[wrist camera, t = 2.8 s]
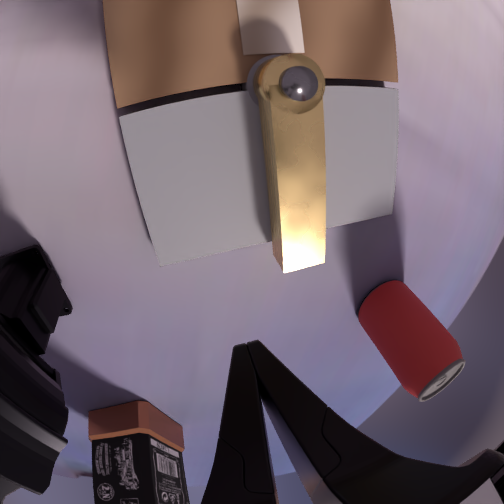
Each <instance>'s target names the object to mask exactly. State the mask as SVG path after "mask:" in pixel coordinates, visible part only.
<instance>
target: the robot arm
mask: <svg viewBox="0 0 504 504" xmlns="http://www.w3.org/2000/svg"><path fill="white" fill-rule="evenodd" d="M35 251H37V252H38V254H37V253H35ZM66 308H68V309H66ZM72 309H73V307H72V305H71V303H70V302H69V300H68V298H67V296H66V293H65V292H64V290H63V288H62V286H61V284H60V283H59V281H58V279H57V277H56V275H55V273H54V271H53V270H52V269H51V267H50V265H49V263H48V261H47V259H46V257H45V254H44V252H43V250H42V248H41V247H40V246H38V245H33V246H30V247H27V248H25V249H22V250H19V251H16V252H13V253H10V254H8V255H5V256H2V257H0V504H3V500H4V499H5V496H7V495H9V494H10V493H12V492H14V491H16V490H17V489H19V488H21V487H22V488H24V489H26V490H29V491H31V492H33V493H36V494H38V495H41V494H43V493H44V491H45V490H46V489H47V488H48V487H49V485H50V481H51V476H52V471H53V467H54V464H55V461H56V459H57V457H58V455H59V453H60V452H61V451H62V449H63V448H64V447H65V446H66V445H67V443H68V440H67V439H66V438H64V437H62V436H63V434H64V432H65V428H66V425H67V422H68V408H67V407H66V406H65V401H64V394H63V392H62V387H61V380H60V373H59V372H58V371H57V370H55V369H53V368H52V367H50V366H49V365H48V364H47V363H46V362H45V361H44V360H43V359H42V358H41V357H40V356H39V355H42V354H45V351H46V347H47V344H48V341H49V337H50V334H51V333H54V330H55V327H56V324H57V321H58V318H59V316H64V315H69V314H71V312H72ZM261 399H262V401H261ZM262 402H263V404H264V407H265V409H266V411H267V413H268V415H269V417H270V419H271V422H272V424H273V426H274V428H275V430H276V432H277V434H278V436H279V438H280V440H281V442H282V444H283V446H284V448H285V450H286V452H287V454H288V456H289V458H290V460H291V462H292V464H293V466H294V468H295V470H296V472H297V474H298V476H299V478H300V480H301V481H302V483H303V485H304V487H305V489H306V491H307V493H308V494H309V496H310V498H311V500H312V502H313V504H504V440H503V441H502V442H501V443H500V444H499V445H498V446H497V447H496V448H495V449H494V450H491V449H485V450H483V451H482V452H480V453H478V454H477V455H475V456H474V457H472V458H471V459H469V460H467V461H466V462H464V463H463V464H461V465H459V466H458V467H452V466H446V465H440V464H435V463H430V462H425V461H420V460H415V459H411V458H407V457H404V456H401V455H399V454H396V453H394V452H392V451H391V450H389V449H387V448H385V447H383V446H382V445H381V444H379V443H377V442H376V441H374V440H373V439H371V438H369V437H368V436H366V435H365V434H363V433H362V432H360V431H359V430H357V429H356V428H354V427H353V426H351V425H350V424H349V423H347V422H346V421H345V420H344V419H343V418H341V417H340V416H339V415H338V414H337V413H335V412H334V411H333V410H332V409H331V408H330V407H327V405H326V404H325V403H324V402H323V401H322V400H321V399H320V398H319V397H318V396H317V395H315V394H314V393H313V392H312V391H311V390H310V389H309V388H308V387H307V386H306V385H305V384H304V383H303V382H301V381H300V380H299V379H298V378H297V377H296V376H295V375H294V374H293V373H292V372H291V371H290V370H289V369H288V368H287V367H286V366H285V365H284V364H283V363H282V362H281V361H280V360H279V359H278V358H277V357H275V356H274V355H273V354H272V353H271V352H270V351H269V350H268V349H267V348H266V347H265V346H264V345H263V344H262V343H261V342H260V341H259V340H254V341H251V342H248V343H247V344H245V343H243V344H239V345H235V346H234V347H233V351H232V357H231V364H230V370H229V376H228V382H227V388H226V394H225V400H224V406H223V412H222V419H221V425H220V431H219V438H218V442H217V448H216V453H215V458H214V463H213V467H212V470H211V474H210V477H209V480H208V483H207V487H206V490H205V493H204V496H203V499H202V502H201V504H279V500H278V495H277V489H276V483H275V478H274V471H273V466H272V460H271V454H270V448H269V442H268V436H267V430H266V424H265V418H264V412H263V406H262Z"/></svg>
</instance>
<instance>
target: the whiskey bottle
mask: <svg viewBox="0 0 504 504" xmlns="http://www.w3.org/2000/svg"><path fill="white" fill-rule="evenodd" d="M88 429H89V440H90V441H91V442H92V472H93V489H94V501H95V504H190V503H189V497H188V491H187V485H186V478H185V472H184V465H183V457H182V452H183V451H184V449H185V448H184V439H183V429H182V426H180V425H179V424H177V423H176V422H175V421H173V420H172V419H170V418H169V417H167V416H166V415H165V414H163V413H162V412H161V411H159V410H158V409H157V408H155V407H154V406H153V405H151V404H150V403H149V402H145V401H139V400H137V401H133V402H129V403H125V404H121V405H117V406H112V407H108V408H103V409H98V410H93V411H89V424H88Z"/></svg>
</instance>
